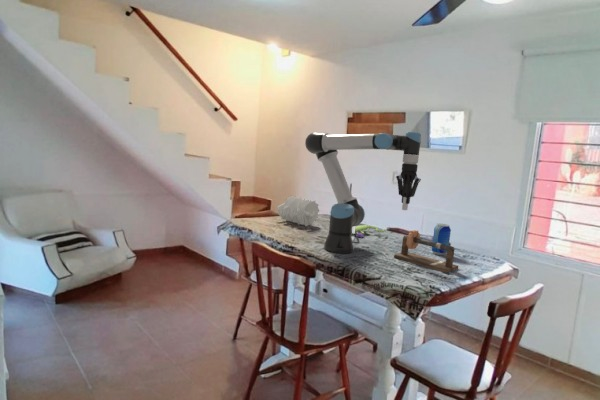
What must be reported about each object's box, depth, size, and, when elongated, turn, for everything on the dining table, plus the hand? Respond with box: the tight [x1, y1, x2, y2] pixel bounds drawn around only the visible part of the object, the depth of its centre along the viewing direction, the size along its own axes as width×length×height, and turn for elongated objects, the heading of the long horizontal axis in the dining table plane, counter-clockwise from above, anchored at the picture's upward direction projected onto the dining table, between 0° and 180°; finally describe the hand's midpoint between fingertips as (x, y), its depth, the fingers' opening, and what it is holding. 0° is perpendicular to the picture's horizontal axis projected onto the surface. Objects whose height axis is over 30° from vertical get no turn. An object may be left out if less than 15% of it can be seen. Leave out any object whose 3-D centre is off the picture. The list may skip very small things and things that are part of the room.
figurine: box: [355, 224, 387, 239], centre depth 267 cm, size 18×27×6 cm
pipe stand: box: [393, 234, 459, 274], centre depth 210 cm, size 12×28×11 cm, turn 45°
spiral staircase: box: [276, 195, 320, 227], centre depth 282 cm, size 18×18×25 cm
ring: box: [406, 229, 421, 250], centre depth 215 cm, size 9×2×9 cm, turn 135°
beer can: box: [431, 223, 452, 256], centre depth 232 cm, size 8×8×16 cm
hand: (404, 209), depth 218 cm, fingers closed
